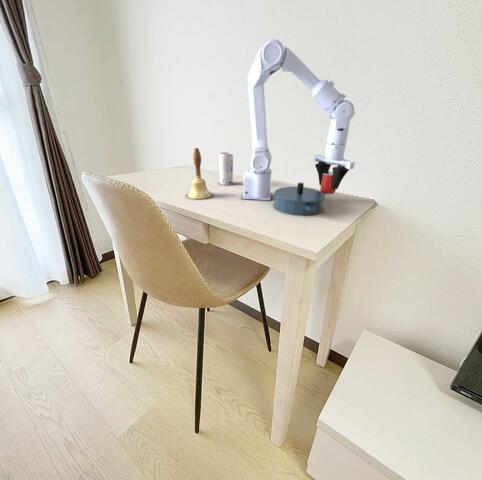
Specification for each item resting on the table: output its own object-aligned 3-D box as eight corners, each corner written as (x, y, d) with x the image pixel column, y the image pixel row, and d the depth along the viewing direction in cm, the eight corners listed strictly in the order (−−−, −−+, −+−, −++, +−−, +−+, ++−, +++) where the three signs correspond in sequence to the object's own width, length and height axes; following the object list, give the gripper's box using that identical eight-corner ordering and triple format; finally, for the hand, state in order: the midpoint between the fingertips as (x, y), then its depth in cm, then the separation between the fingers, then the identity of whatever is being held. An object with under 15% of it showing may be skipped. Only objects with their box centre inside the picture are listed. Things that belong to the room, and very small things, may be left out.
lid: (284, 206, 73) (285, 191, 71) (268, 190, 86) (269, 178, 84) (334, 203, 75) (337, 189, 73) (311, 188, 89) (312, 176, 87)
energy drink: (233, 182, 109) (233, 152, 103) (231, 185, 104) (231, 154, 98) (220, 181, 109) (220, 152, 104) (218, 185, 104) (218, 154, 99)
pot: (287, 220, 72) (289, 206, 70) (267, 198, 90) (268, 187, 88) (334, 217, 75) (337, 204, 73) (305, 196, 92) (307, 185, 90)
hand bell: (183, 197, 89) (178, 149, 82) (195, 191, 96) (192, 146, 89) (204, 200, 87) (201, 150, 79) (215, 193, 93) (214, 147, 86)
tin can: (320, 194, 85) (324, 174, 82) (319, 190, 90) (322, 171, 87) (336, 195, 85) (340, 175, 82) (333, 190, 89) (337, 171, 86)
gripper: (364, 146, 77) (354, 190, 83) (326, 140, 87) (320, 180, 94) (349, 147, 73) (339, 193, 79) (311, 141, 84) (306, 182, 90)
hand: (328, 186), depth 86 cm, fingers closed on tin can, 5 cm apart
